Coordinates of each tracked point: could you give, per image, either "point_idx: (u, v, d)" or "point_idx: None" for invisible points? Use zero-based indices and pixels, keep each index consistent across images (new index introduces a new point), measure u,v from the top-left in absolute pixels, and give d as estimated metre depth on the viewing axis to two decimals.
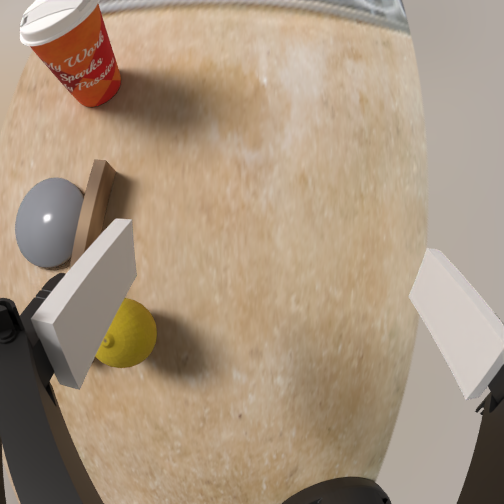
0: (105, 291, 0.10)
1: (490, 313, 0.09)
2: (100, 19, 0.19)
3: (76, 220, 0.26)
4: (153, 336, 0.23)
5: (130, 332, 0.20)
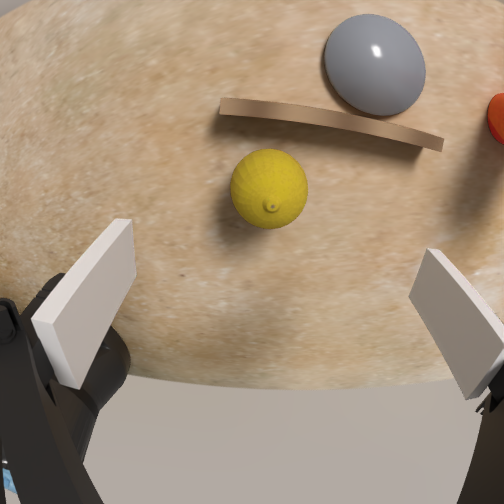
0: (105, 291, 0.10)
1: (490, 313, 0.09)
2: None
3: (380, 104, 0.22)
4: None
5: (280, 223, 0.21)
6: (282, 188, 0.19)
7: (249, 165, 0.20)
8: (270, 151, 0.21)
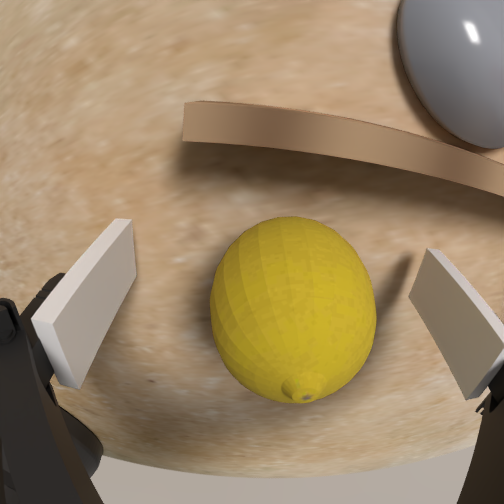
0: (105, 291, 0.10)
1: (490, 313, 0.09)
2: None
3: (487, 128, 0.10)
4: None
5: None
6: (332, 354, 0.07)
7: (250, 284, 0.08)
8: (301, 236, 0.09)
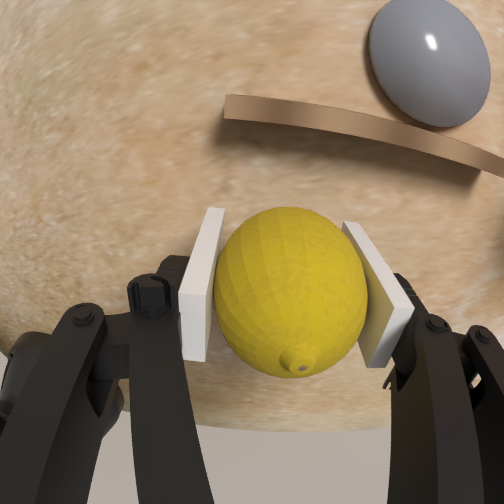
0: None
1: (390, 278, 0.10)
2: None
3: (439, 112, 0.15)
4: None
5: None
6: (326, 328, 0.08)
7: (250, 264, 0.09)
8: (297, 222, 0.10)
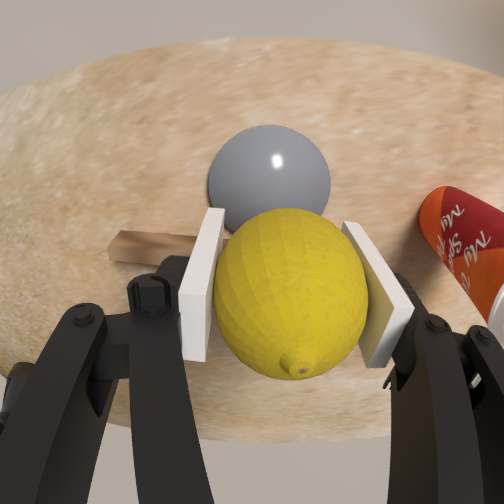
0: None
1: (390, 278, 0.10)
2: None
3: None
4: None
5: None
6: (326, 330, 0.08)
7: (250, 266, 0.09)
8: (297, 224, 0.10)
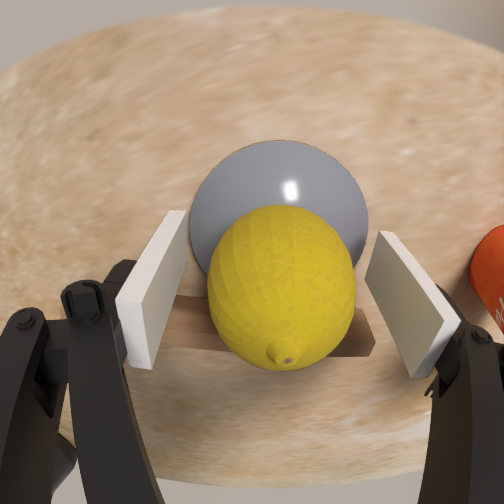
0: (170, 276, 0.11)
1: (434, 290, 0.10)
2: None
3: None
4: None
5: (300, 367, 0.10)
6: (310, 322, 0.09)
7: (240, 259, 0.10)
8: (286, 220, 0.10)
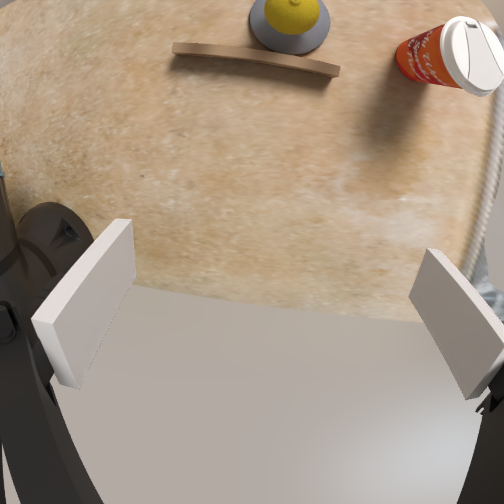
0: (105, 291, 0.10)
1: (490, 313, 0.09)
2: (462, 88, 0.22)
3: (290, 46, 0.29)
4: (291, 32, 0.25)
5: (300, 17, 0.22)
6: None
7: None
8: None
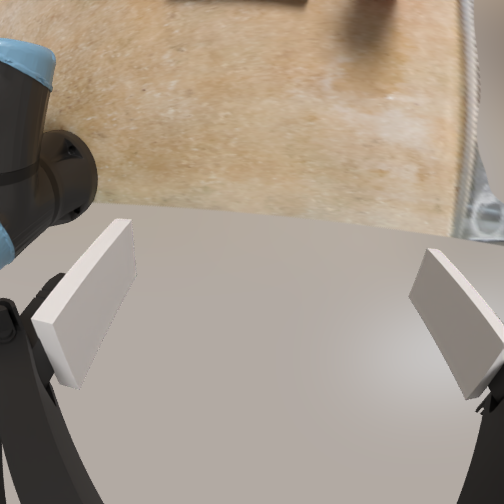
0: (105, 291, 0.10)
1: (490, 313, 0.09)
2: None
3: None
4: None
5: None
6: None
7: None
8: None
